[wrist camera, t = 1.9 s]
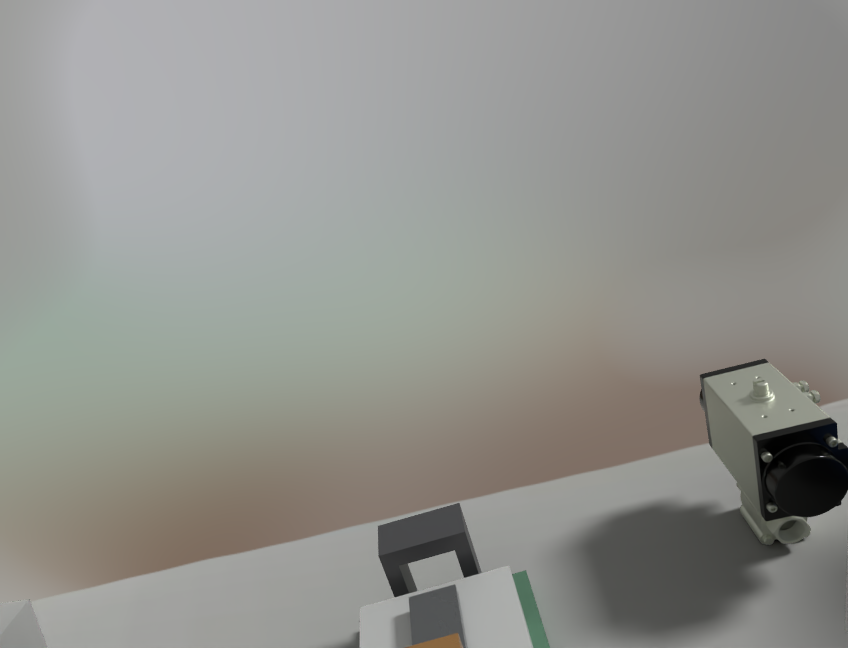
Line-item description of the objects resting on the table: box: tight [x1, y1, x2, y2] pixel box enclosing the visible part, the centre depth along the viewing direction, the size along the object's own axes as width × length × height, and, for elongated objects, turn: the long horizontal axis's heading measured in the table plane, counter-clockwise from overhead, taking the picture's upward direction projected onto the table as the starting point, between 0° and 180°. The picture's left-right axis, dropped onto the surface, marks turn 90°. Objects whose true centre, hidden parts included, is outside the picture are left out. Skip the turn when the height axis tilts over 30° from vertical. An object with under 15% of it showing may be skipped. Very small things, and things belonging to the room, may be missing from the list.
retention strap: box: [405, 584, 468, 648], centre depth 33 cm, size 14×5×10 cm, turn 4°
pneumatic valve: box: [700, 359, 848, 545], centre depth 46 cm, size 6×12×12 cm, turn 0°
